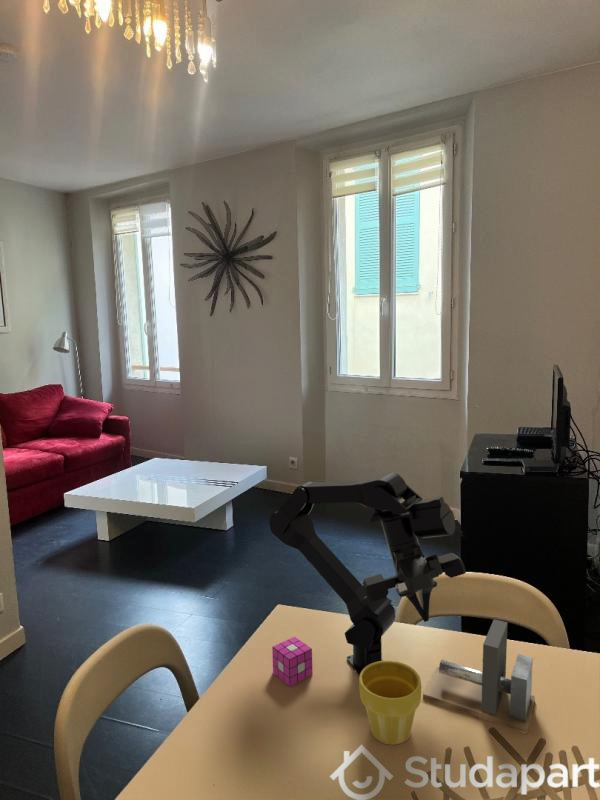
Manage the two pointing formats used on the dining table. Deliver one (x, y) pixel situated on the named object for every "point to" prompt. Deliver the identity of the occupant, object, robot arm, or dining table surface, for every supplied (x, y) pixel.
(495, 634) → the grey flat slab
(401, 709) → the yellow cup
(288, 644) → the puzzle toy
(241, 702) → the dining table surface
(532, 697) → the clear base plate
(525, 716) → the metal rod with plate
